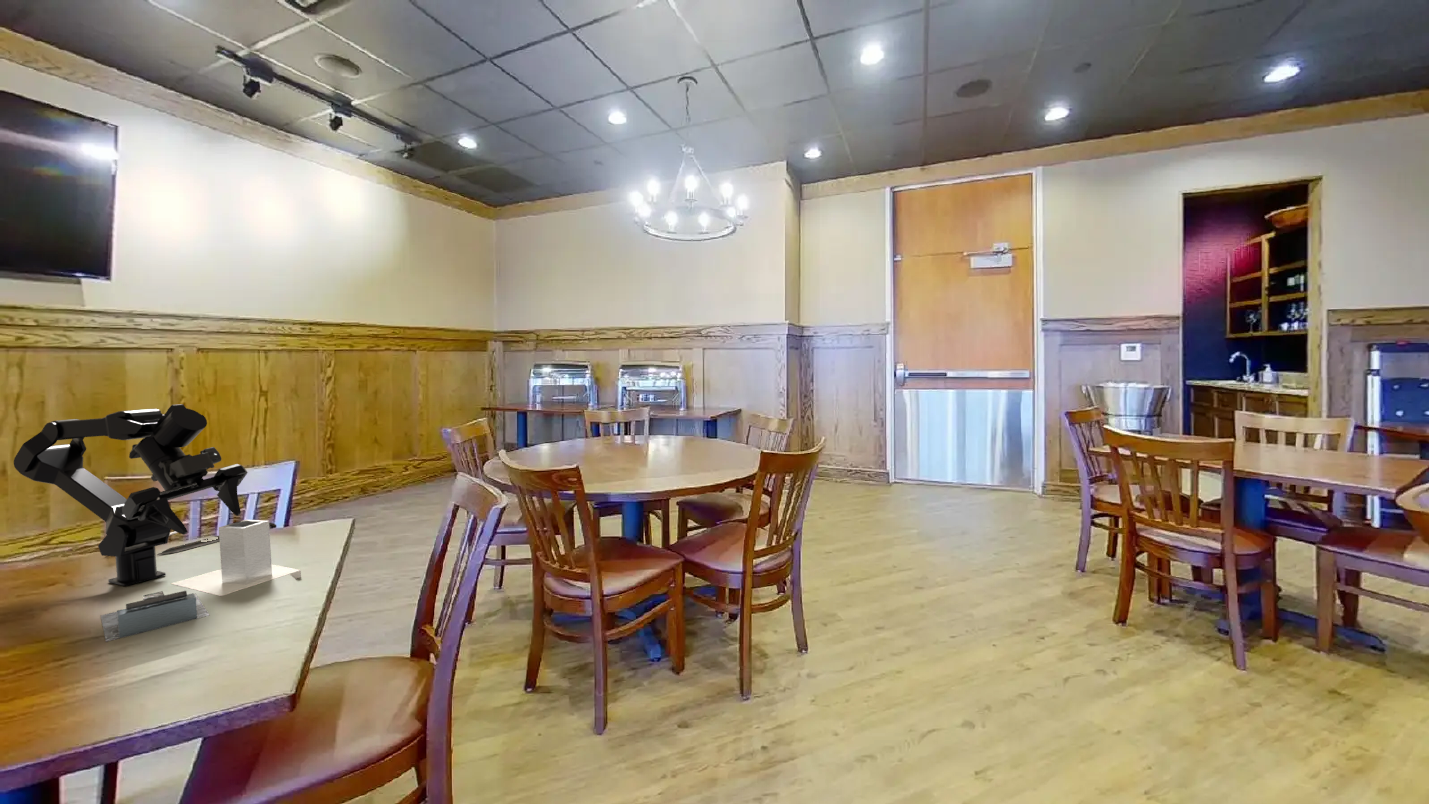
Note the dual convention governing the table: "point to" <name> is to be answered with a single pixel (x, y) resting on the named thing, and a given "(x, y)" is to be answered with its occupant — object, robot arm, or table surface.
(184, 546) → the knife
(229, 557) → the square hollow tube
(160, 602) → the grey piece
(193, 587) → the cutting board
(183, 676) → the table surface
